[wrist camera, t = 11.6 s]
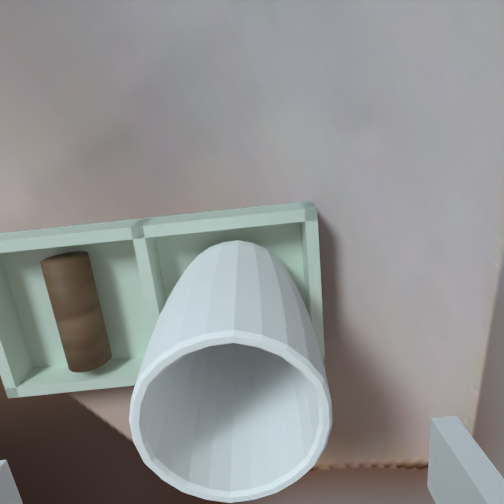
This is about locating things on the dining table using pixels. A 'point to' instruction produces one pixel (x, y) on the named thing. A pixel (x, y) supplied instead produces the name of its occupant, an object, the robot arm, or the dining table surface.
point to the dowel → (77, 310)
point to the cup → (232, 380)
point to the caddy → (133, 285)
